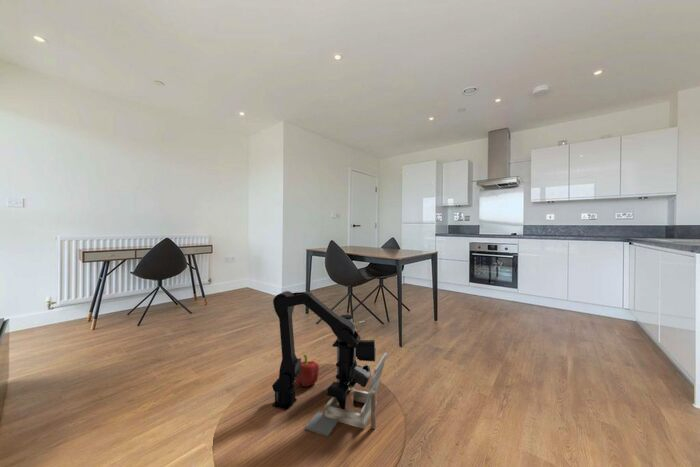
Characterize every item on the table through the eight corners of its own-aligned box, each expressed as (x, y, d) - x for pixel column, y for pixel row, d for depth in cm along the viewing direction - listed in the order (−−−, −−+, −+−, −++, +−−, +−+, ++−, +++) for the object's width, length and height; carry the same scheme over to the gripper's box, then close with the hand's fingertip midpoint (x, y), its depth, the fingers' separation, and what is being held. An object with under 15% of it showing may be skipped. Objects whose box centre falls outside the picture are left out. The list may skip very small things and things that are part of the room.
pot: (335, 412, 90) (335, 390, 91) (341, 402, 96) (341, 382, 96) (350, 416, 88) (350, 394, 89) (356, 406, 94) (356, 385, 94)
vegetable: (292, 378, 113) (292, 355, 114) (316, 375, 116) (316, 352, 117) (294, 392, 103) (295, 366, 103) (321, 388, 106) (321, 362, 106)
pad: (305, 429, 82) (305, 427, 82) (317, 414, 89) (317, 412, 89) (328, 436, 79) (328, 434, 79) (339, 419, 86) (339, 417, 86)
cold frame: (324, 417, 87) (324, 360, 88) (340, 395, 100) (341, 345, 101) (376, 432, 81) (376, 369, 82) (387, 406, 94) (387, 352, 95)
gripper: (359, 375, 81) (359, 427, 80) (375, 352, 99) (375, 395, 98) (326, 369, 85) (326, 419, 85) (347, 348, 103) (347, 389, 102)
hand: (346, 404), depth 92 cm, fingers closed on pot, 5 cm apart
